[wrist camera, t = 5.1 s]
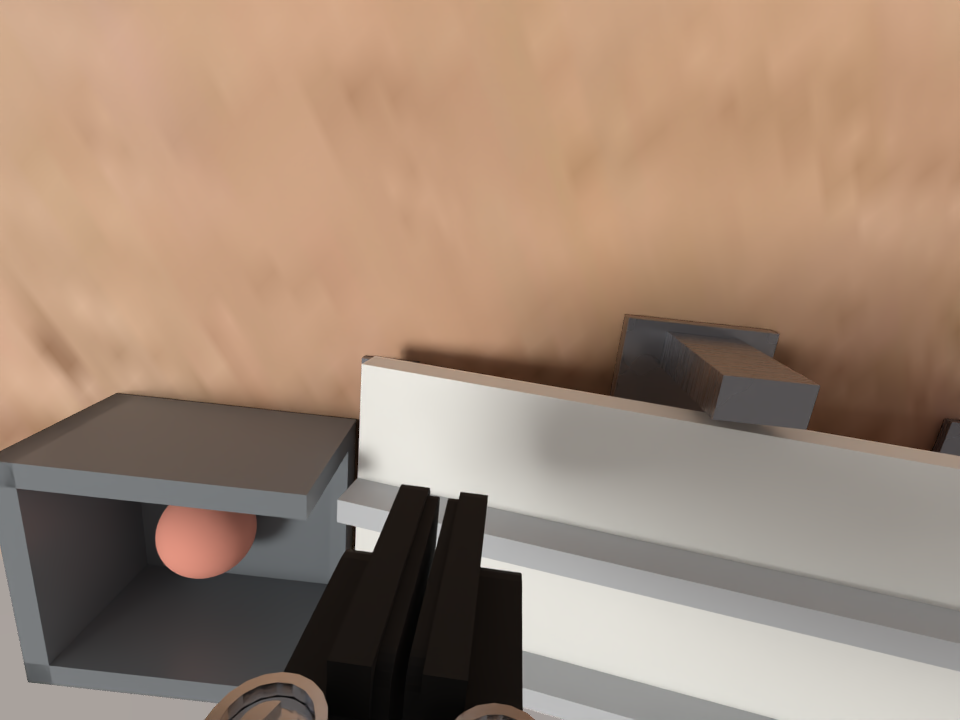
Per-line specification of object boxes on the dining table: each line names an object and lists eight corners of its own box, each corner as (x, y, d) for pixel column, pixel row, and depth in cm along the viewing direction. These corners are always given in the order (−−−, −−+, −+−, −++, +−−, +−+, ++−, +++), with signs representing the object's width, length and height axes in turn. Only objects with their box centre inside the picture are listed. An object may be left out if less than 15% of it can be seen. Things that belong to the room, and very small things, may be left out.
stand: (1030, 357, 18) (1238, 418, 13) (892, 674, 22) (1009, 814, 17) (366, 286, 18) (315, 319, 13) (354, 615, 22) (311, 736, 17)
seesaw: (1198, 497, 13) (1324, 557, 11) (1031, 782, 16) (1102, 876, 14) (375, 355, 17) (340, 377, 15) (364, 603, 20) (333, 652, 18)
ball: (170, 468, 19) (262, 467, 20) (176, 541, 20) (264, 538, 21) (135, 520, 16) (245, 516, 17) (144, 603, 17) (249, 595, 18)
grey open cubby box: (356, 419, 19) (306, 495, 14) (350, 595, 22) (305, 713, 17) (116, 393, 19) (-18, 459, 14) (136, 571, 22) (28, 682, 17)
